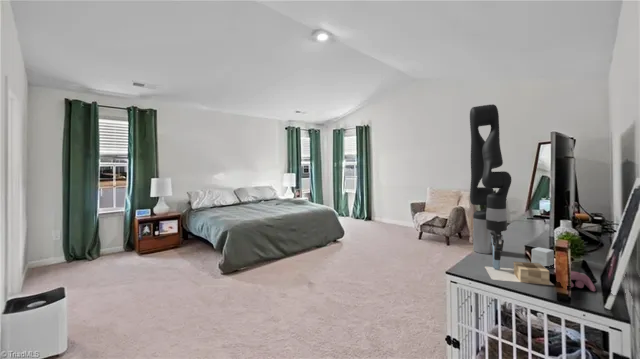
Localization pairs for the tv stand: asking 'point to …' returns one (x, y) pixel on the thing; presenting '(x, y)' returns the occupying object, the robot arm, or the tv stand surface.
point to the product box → (543, 256)
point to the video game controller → (582, 280)
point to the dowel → (495, 261)
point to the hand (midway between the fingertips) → (496, 258)
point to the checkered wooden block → (531, 273)
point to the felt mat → (504, 274)
